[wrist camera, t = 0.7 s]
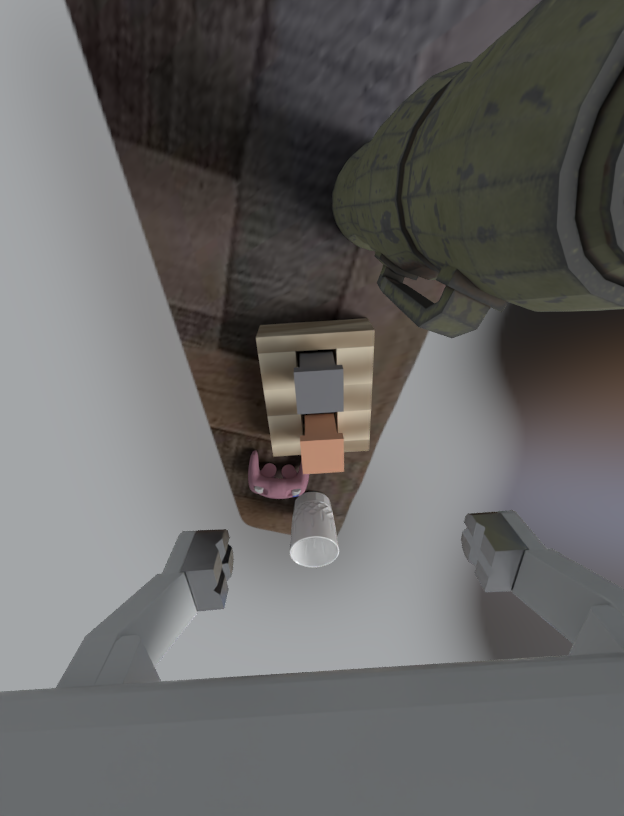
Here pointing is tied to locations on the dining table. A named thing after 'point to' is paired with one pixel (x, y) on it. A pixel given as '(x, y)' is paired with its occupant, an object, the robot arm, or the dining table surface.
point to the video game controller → (276, 480)
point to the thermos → (502, 176)
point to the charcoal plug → (319, 384)
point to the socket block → (280, 359)
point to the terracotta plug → (321, 445)
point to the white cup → (313, 531)
